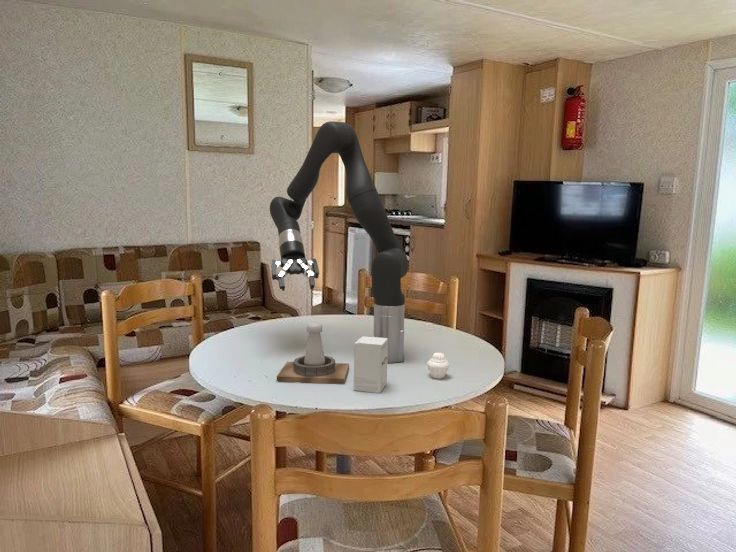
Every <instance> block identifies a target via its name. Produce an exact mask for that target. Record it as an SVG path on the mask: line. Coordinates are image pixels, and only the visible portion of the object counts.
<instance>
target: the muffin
mask: <svg viewBox="0 0 736 552" xmlns="http://www.w3.org/2000/svg"><path fill="white" fill-rule="evenodd" d="M426 365H427V369H428V371H429V373H430V375H431V377H432V378H433V379H443V378H445V376H446V374H447V372H448V370H449V368H450V363H449V361H448V360H447V359H446V356H445V354H444V353H443V352H435V353H432V356H431V357H430V359H429V360H428V361H427V362H426Z"/></svg>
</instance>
